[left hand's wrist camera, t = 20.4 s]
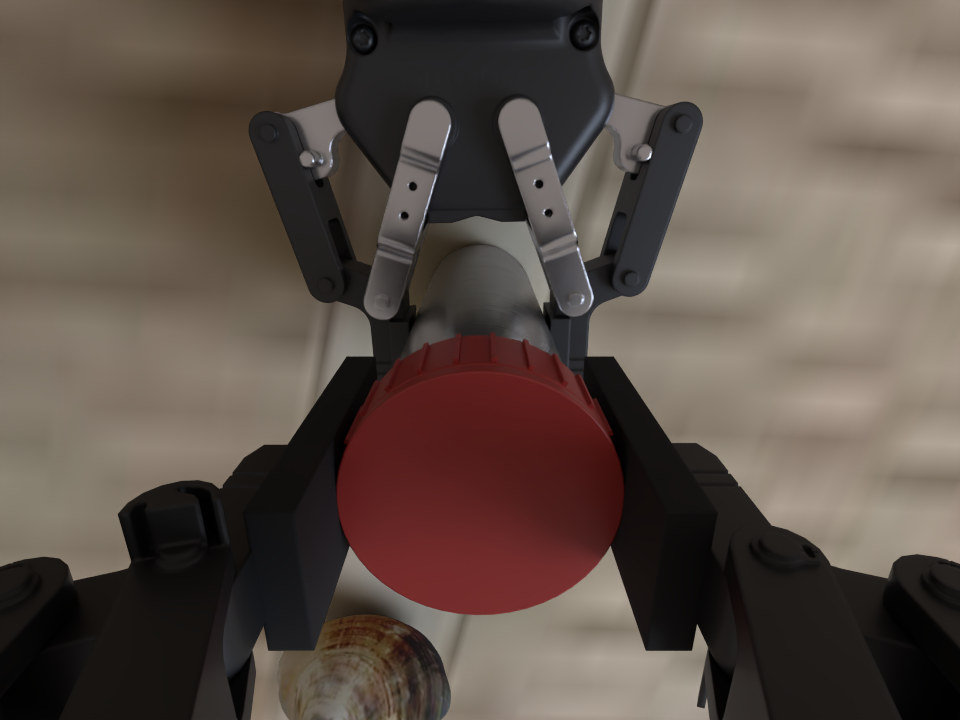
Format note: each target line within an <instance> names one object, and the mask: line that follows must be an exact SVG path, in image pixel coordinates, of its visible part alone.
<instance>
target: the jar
mask: <svg viewBox="0 0 960 720" xmlns="http://www.w3.org/2000/svg"><path fill="white" fill-rule="evenodd" d="M490 332H492V333H495V336H499V337H505V338H510V339H514V340H519V341H521V342H523V339H526V340H528V341H529V344H530V345H532V346H535V347H537V348H539V349H541V350H543V351H545V352H547V353H549V354H550V355H553V353H555V354H557V355H558V357H559V360H560V362H562V361H561V358H560V356H559V353H558V351H557V348H556V346H555V343H554V341H553V338H552V336H551V333H550V331H549V328H548V326H547V323H546V321H545V318H544V316H543V313H542V311H541V308H540V306H539V303H538V301H537V298H536V296H535V293H534V291H533V288H532V286H531V283H530V281H529V278H528V276H527V274H526V272H525V270H524V268H523V267H522V265H521V264H520V263H519V261H518V260H516V259H515V258H514V257H513V256H512V255H511V254H509V253H508V252H506V251H504V250H502V249H500V248H497V247H494V246H490V245H482V244H481V245H470V246H466V247H463V248H460V249H458V250H456V251H454V252H452V253H451V254H449V255H448V256H447V257H446V258H445V259H444V260H443V261H442V262H441V263H440V264H439V266H438V267H437V268H436V270H435V272H434V274H433V276H432V279H431V281H430V284H429V286H428V289H427V291H426V294H425V296H424V299H423V301H422V304H421V306H420V309H419V311H418V314H417V316H416V319H415V321H414V324H413V326H412V329H411V331H410V334H409V336H408V339H407V341H406V344H405V346H404V349H403V352H402V354H401V357H400V360H403V359H404V358H406V357H407V356H409V355H411V354H412V353H414V352H416V351H417V350H419V349H421V348H422V347H423V344H424V343H427V342H428V343H429V345H431V344H433V343H436V342H439V341H443V340H446V339H450V338H455V336H456V334H461V337H462V336H474V335H488V336H490Z"/></svg>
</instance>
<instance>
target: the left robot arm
mask: <svg viewBox="0 0 960 720" xmlns="http://www.w3.org/2000/svg"><path fill="white" fill-rule="evenodd" d="M376 380H377V367H376V357H346V358H345V360H344V361H343V363H342V364H341V366H340V367H339V369H338V370H337V372H336V373H335V375H334V376H333V378H332V379H331V381H330V382H329V384H328V385H327V387H326V388H325V390H324V391H323V393H322V394H321V396H320V397H319V399H318V400H317V402H316V403H315V405H314V406H313V408H312V409H311V411H310V412H309V414H308V415H307V417H306V418H305V420H304V421H303V423H302V424H301V426H300V427H299V429H298V430H297V432H296V433H295V435H294V436H293V438H292V439H291V441H290V442H289V444H288V445H263V446H262V447H260V448H259V449H257V450H255V451H254V452H252V453H251V454H249V455H248V456H246V457H245V458H244V459H243V460H242V461H241V463H240V464H239V465H238V466H237V468H236V469H235V470H234V472H233V475H232V476H230V477H229V478H228V479H227V480H226V482H225V483H224V484H223V488H220V489H219V488H217V487H216V486H215V485H214V484H212V483H209V482H204V481H199V480H194V481H179V482H175V483H170V484H166V485H162V486H159V487H157V488H154V489H152V490H149V491H147V492H145V493H142V494H141V495H139V496H138V497H136V498H135V499H133V500H132V501H130V502H128V503H127V504H126V505H125V507H124V508H123V509H122V510H121V511H120V512H119V513H118V517H119V520H120V524H121V527H122V531H123V534H124V538H125V541H126V545H127V548H128V552H129V555H130V559H131V564H130V566H129V568H128V569H124V570H121V571H117V572H112V573H108V574H103V575H98V576H94V577H89V578H84V579H80V580H75V581H73V579H72V576H71V573H70V570H69V567H68V565H67V564H66V563H64V562H63V561H62V560H61V559H58V558H50V557H39V558H32V559H24V560H21V561H17V562H13V563H12V564H11V563H10V564H7V565H4V566H2V567H0V720H250V719H251V711H252V702H253V694H254V685H255V677H256V668H255V661H254V656H253V651H252V649H253V647H254V645H255V643H256V641H257V639H258V636H259V634H260V632H261V630H262V628H263V626H264V630H265V635H266V641H267V646H268V651H314V650H315V647H316V644H317V642H318V639H319V636H320V633H321V630H322V627H323V624H324V621H325V618H326V615H327V612H328V609H329V606H330V603H331V600H332V597H333V594H334V591H335V588H336V585H337V582H338V579H339V576H340V573H341V570H342V567H343V564H344V561H345V558H346V555H347V552H348V549H349V546H350V545H349V543H348V541H347V538H346V536H345V534H344V532H343V529H342V526H341V523H340V520H339V515H338V506H337V497H336V481H337V474H338V468H339V465H340V462H341V459H342V456H343V453H344V450H345V448H346V446H347V444H344V441H345V438H346V436H347V434H348V432H349V430H350V428H351V426H352V424H353V421H354V419H355V417H356V415H357V413H358V411H359V409H360V407H361V406H363V405H364V403H365V400H366V398H367V396H368V394H369V392H370V390H371V388H372V386H373V383H374V382H375V381H376ZM583 381H584V383H585V385H586V387H587V390H588V392H589V394H590V396H591V398H592V399H594V398H596V399H597V401H598V403H599V405H600V407H601V410H602V412H603V414H604V416H605V418H606V420H607V422H608V424H609V426H610V428H611V430H612V432H613V435H612V436H610V438H611V440H612V443H613V445H614V447H615V450H616V452H617V454H618V457H619V459H620V463H621V467H622V471H623V475H624V501H623V510H622V517H621V522H620V525H619V528H618V530H617V533H616V535H615V538H614V540H613V542H612V544H611V548H612V551H613V554H614V557H615V560H616V563H617V566H618V569H619V572H620V575H621V578H622V581H623V584H624V587H625V590H626V593H627V596H628V599H629V602H630V605H631V608H632V611H633V614H634V617H635V620H636V623H637V626H638V629H639V632H640V635H641V638H642V641H643V644H644V646H645V649H646V651H692V648H693V642H694V637H695V632H696V626H697V624H698V626H699V629H700V631H701V633H702V635H703V637H704V639H705V641H706V644H707V646H708V651H707V656H706V661H705V666H704V670H703V675H702V680H701V685H700V690H699V696H698V703H697V707H701V708H705V703H706V699H707V701H708V709H709V718H710V720H960V564H958V563H956V562H953V561H948V560H946V559H942V558H938V557H932V556H925V555H918V554H916V555H908V556H901V557H900V558H899V559H898V560H896V561H895V562H894V563H893V565H892V568H891V571H890V574H889V577H888V579H887V578H883V577H878V576H873V575H868V574H864V573H859V572H854V571H850V570H845V569H841V568H837V567H834V566H831V565H830V563H829V561H828V559H827V558H826V557H825V555H824V554H823V553H822V551H821V550H820V549H819V548H818V547H816V546H815V545H814V544H812V543H811V542H810V541H808V540H807V539H806V538H804V537H802V536H800V535H797V534H795V533H793V532H791V531H789V530H786V529H783V528H779V527H775V526H771V524H770V523H769V522H768V521H767V519H766V518H765V517H764V516H763V514H762V513H761V512H760V510H759V509H758V508H757V507H756V505H755V504H754V503H753V502H752V500H751V499H750V498H749V497H748V495H747V494H746V493H745V492H744V490H743V489H742V488H741V486H738V483H737V481H736V480H735V479H734V478H733V476H732V475H731V474H728V470H727V469H726V468H725V466H724V465H723V464H722V462H721V461H720V460H719V459H718V457H717V456H716V455H714V454H713V453H711V452H709V451H708V450H706V449H705V448H703V447H702V446H700V445H699V444H697V443H671V441H670V440H669V438H668V437H667V436H666V434H665V433H664V431H663V430H662V428H661V427H660V425H659V424H658V422H657V421H656V419H655V418H654V416H653V415H652V413H651V412H650V410H649V409H648V407H647V406H646V404H645V403H644V401H643V400H642V398H641V397H640V395H639V394H638V392H637V391H636V389H635V388H634V386H633V385H632V383H631V382H630V380H629V379H628V377H627V376H626V374H625V373H624V371H623V370H622V368H621V367H620V365H619V364H618V362H617V361H616V359H615V358H614V357H585V358H584V372H583Z"/></svg>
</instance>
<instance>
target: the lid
mask: <svg viewBox="0 0 960 720" xmlns="http://www.w3.org/2000/svg"><path fill="white" fill-rule="evenodd" d="M612 435H613V432H612V430H611V428H610V426H609V424H608V422H607V420H606V418H605V416H604V414H603V412H602V410H601V407H600V405H599V403H598V401H597V399H596V398H594V399H592V398H591V396H590V394H589V392H588V390H587V387H586V385H585V383H584V381H583V379H582V377H581V375H580V374H579V373H578V374H577V375H575V374H574V373H573V372H572V371H571V370H570V369H569V368H568V367H566V366H565V365H564V364H563V363H562V362H560V360H559V357H558V355H557V354H555V353H553V355H550V354H549V353H547V352H545V351H543V350H541V349H539V348H537V347H535V346H532V345H530V344H529V341H528V340H526V339H523V342H521V341H519V340H514V339H510V338H505V337H499V336H495V333H492V332H490V336H488V335H474V336H462V337H461V334H456V336H455V338H450V339H446V340H443V341H439V342H436V343H433V344H431V345H429V343H428V342H427V343H424V344H423V347H422V348H421V349H419V350H417V351H416V352H414V353H412V354H411V355H409V356H407V357H406V358H404V359H403V360H400V359H399V358H398V359H397V360H396V361H395V363H394V365H393V368H391V370H390V371H389V372H388V373H387V374H386V375H385V376H384V377H383V378H382V379H381V380H380V382H379V381H377V380H376V381H375V382H374V383H373V386H372V388H371V390H370V392H369V394H368V396H367V398H366V400H365V403H364V405H363V406H361V407H360V409H359V411H358V413H357V415H356V417H355V419H354V421H353V424H352V426H351V428H350V430H349V432H348V434H347V436H346V438H345V441H344V444H347V446H346V448H345V450H344V453H343V456H342V459H341V462H340V465H339V468H338V474H337V481H336V497H337V506H338V515H339V520H340V523H341V526H342V529H343V532H344V534H345V536H346V538H347V541H348V543H349V545H350V547H351V548H352V550H353V551H354V553H355V554H356V556H357V557H358V559H359V560H360V561H361V562H362V563H363V564H364V566H365V567H366V568H367V569H368V570H369V571H370V572H371V573H372V574H373V575H374V576H375V577H376V578H378V579H379V580H380V581H381V582H382V583H384V584H385V585H386V586H388V587H389V588H391V589H392V590H394V591H395V592H397V593H399V594H401V595H402V596H404V597H406V598H408V599H410V600H412V601H415V602H417V603H420V604H422V605H425V606H428V607H431V608H435V609H438V610H442V611H447V612H452V613H458V614H470V615H493V614H501V613H509V612H514V611H518V610H522V609H527V608H530V607H533V606H536V605H538V604H541V603H544V602H546V601H548V600H550V599H552V598H554V597H557V596H559V595H560V594H562V593H563V592H565V591H567V590H568V589H570V588H572V587H573V586H574V585H576V584H577V583H578V582H579V581H581V580H582V579H583V578H584V577H586V576H587V575H588V574H589V573H590V572H591V571H592V570H593V569H594V568H595V567H596V566H597V564H598V563H599V562H600V560H601V559H602V558H603V556H604V555H605V554H606V552H607V551H608V549H609V547H610V545H611V544H612V542H613V540H614V538H615V535H616V533H617V530H618V528H619V525H620V522H621V517H622V510H623V501H624V475H623V471H622V467H621V463H620V459H619V457H618V454H617V452H616V450H615V447H614V445H613V443H612V440H611V438H610V436H612Z"/></svg>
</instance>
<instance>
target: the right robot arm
mask: <svg viewBox="0 0 960 720" xmlns="http://www.w3.org/2000/svg"><path fill="white" fill-rule="evenodd" d="M602 2H603V0H343V8H344V19H345V30H346V41H347V54H346V61H345V66H344V70H343V73H342V76H341V78H340V80H339V83H338V85H337V88H336V93H335V99H332V100H329V101H326V102H323V103H319V104H316V105H313V106H309V107H306V108H303V109H299V110H296V111H293V112H290V113H286V114H284V113H279V112H270V111H263V112H259V113H258V114H256V115H255V116H254V117H253V118H252V120H251V122H250V124H249V136H250V139H251V141H252V144H253V147H254V149H255V152H256V154H257V157H258V160H259V162H260V165H261V167H262V170H263V172H264V175H265V178H266V180H267V183H268V185H269V188H270V191H271V193H272V196H273V198H274V201H275V203H276V206H277V209H278V211H279V214H280V216H281V219H282V222H283V224H284V227H285V229H286V232H287V234H288V237H289V240H290V242H291V245H292V247H293V250H294V253H295V255H296V258H297V260H298V263H299V266H300V268H301V271H302V273H303V276H304V278H305V281H306V284H307V286H308V289H309V291H310V293H311V294H312V296H313V297H314V298H316V299H317V300H319V301H321V302H324V303H331V302H335V301H339V302H342V303H345V304H348V305H351V306H354V307H356V308H358V309H360V310H361V311H363V312H364V313H365V314H366V316H367V317H368V319H369V321H370V325H371V334H372V345H373V356H374V357H376V367H377V381H379V382H380V380H381V379H382V378H383V377H384V376H385V375H386V374H387V373H388V372H389V371H390V370H391V368H393V365H394V363H395V361H396V360H397V359H398V358H399V359H400V357H401V354H402V352H403V349H404V346H405V344H406V341H407V339H408V336H409V334H410V331H411V329H412V326H413V324H414V321H415V319H416V305H410V304H409V287H410V283H411V280H412V277H413V273H414V270H415V267H416V263H417V260H418V257H419V253H420V250H421V247H422V245H423V242H424V239H425V236H426V233H427V229H428V226H429V223H453V222H456V221H460V220H463V219H466V218H470V217H473V216H481V217H485V218H489V219H493V220H497V221H501V222H518V221H526V224H527V227H528V230H529V233H530V235H531V238H532V241H533V243H534V246H535V249H536V251H537V254H538V257H539V260H540V263H541V266H542V269H543V272H544V275H545V278H546V281H547V284H548V286H549V289H550V302H547V303H544V305H543V316H544V318H545V321H546V323H547V326H548V328H549V331H550V333H551V336H552V338H553V341H554V343H555V346H556V348H557V351H558V353H559V356H560V358H561V361H562V363H563V364H564V365H565V366H566V367H568V368H569V369H570V370H571V371H572V372H573V373H574V374H575V375H577V374H578V373H579V374H580V375H581V377H582V379H583V372H584V358H585V357H587V350H588V332H589V319H590V316H591V314H592V312H593V311H594V309H595V308H596V307H597V306H598V305H600V304H601V303H603V302H605V301H608V300H611V299H614V298H616V297H619V296H622V295H623V296H627V297H632V296H636V295H638V294H640V293H641V292H642V291H644V289H645V288H646V287H647V285H648V282H649V280H650V277H651V274H652V271H653V268H654V265H655V262H656V259H657V256H658V253H659V251H660V248H661V245H662V242H663V239H664V236H665V233H666V230H667V227H668V225H669V222H670V219H671V216H672V213H673V210H674V207H675V204H676V201H677V198H678V196H679V193H680V190H681V187H682V184H683V181H684V178H685V175H686V172H687V169H688V167H689V164H690V161H691V158H692V155H693V152H694V149H695V146H696V143H697V140H698V138H699V135H700V132H701V129H702V125H703V117H702V113H701V111H700V109H699V108H698V107H697V106H696V105H695V104H693V103H690V102H680V103H676V104H673V105H669V106H662V105H658V104H654V103H650V102H647V101H643V100H639V99H635V98H631V97H627V96H623V95H620V94H616V93H615V91H614V86H613V82H612V79H611V77H610V75H609V73H608V71H607V69H606V66H605V63H604V60H603V56H602V50H601V22H602ZM603 128H605V129H606V130H608V131H609V132H610V134H611V135H612V138H613V141H614V150H613V160H614V163H615V165H616V166H617V167H618V168H619V169H620V170H621V171H624V172H625V176H624V179H623V182H622V185H621V189H620V192H619V195H618V198H617V202H616V205H615V208H614V211H613V215H612V218H611V221H610V225H609V228H608V231H607V234H606V238H605V241H604V244H603V247H602V251H601V254H600V257H597V258H595V259H592V260H589V261H587V262H584V263H583V260H582V257H581V254H580V251H579V247H578V239H577V235H576V231H575V228H574V225H573V222H572V219H571V215H570V212H569V209H568V206H567V203H566V199H565V196H564V193H563V190H562V185H563V184H564V183H565V181H566V180H567V178H568V177H569V176H570V174H571V173H572V171H573V170H574V169H575V167H576V166H577V164H578V163H579V162H580V160H581V159H582V157H583V156H584V155H585V153H586V152H587V150H588V149H589V148H590V146H591V145H592V144H593V142H594V141H595V139H596V138H597V137H598V135H599V134H600V132H601V131H602V130H603ZM346 133H348V135H349V136H350V137H351V138H352V140H353V141H354V142H355V144H356V145H357V146H358V147H359V149H360V150H361V151H362V153H363V154H364V155H365V156H366V158H367V159H368V160H369V162H370V163H371V164H372V166H373V167H374V168H375V169H376V171H377V172H378V173H379V175H380V176H381V177H382V178H383V180H384V181H385V182H386V184H387V185H388V186H389V187H390V189H391V191H390V195H389V198H388V202H387V206H386V210H385V213H384V217H383V221H382V224H381V228H380V232H379V236H378V240H377V251H376V255H375V258H374V262H373V266H370V265H367V264H364V263H361V262H358V261H357V260H356V257H355V254H354V251H353V248H352V246H351V243H350V240H349V237H348V234H347V231H346V228H345V225H344V223H343V220H342V217H341V214H340V211H339V208H338V205H337V202H336V200H335V197H334V194H333V191H332V188H331V185H330V182H329V179H328V177H331V176H332V175H334V174H335V173H336V171H337V170H338V167H339V163H340V160H339V154H338V146H339V142H340V140H341V138H342V137H343V136H344V135H345V134H346Z"/></svg>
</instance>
